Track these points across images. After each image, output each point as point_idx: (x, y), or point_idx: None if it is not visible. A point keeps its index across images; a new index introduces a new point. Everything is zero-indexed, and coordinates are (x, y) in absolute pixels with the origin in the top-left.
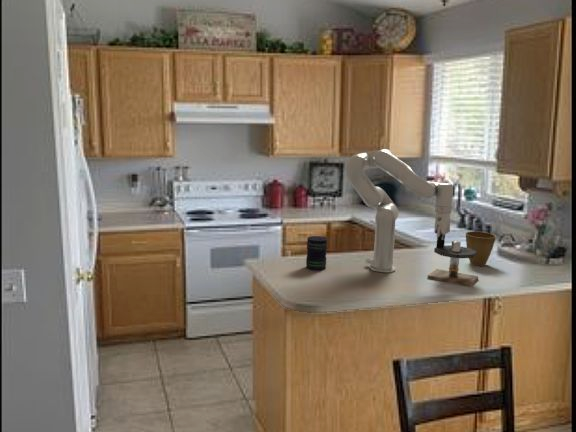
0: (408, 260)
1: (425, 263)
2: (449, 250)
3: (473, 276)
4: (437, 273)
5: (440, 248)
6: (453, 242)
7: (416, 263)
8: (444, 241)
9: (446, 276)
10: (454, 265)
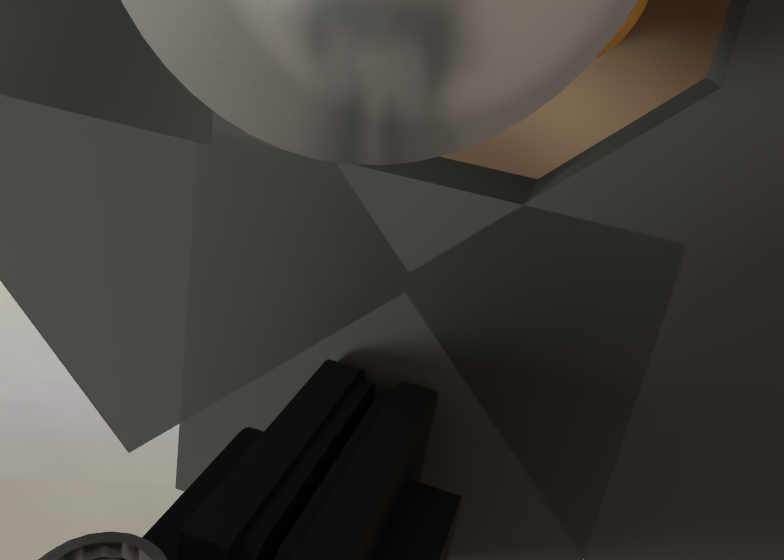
0: (17, 545)
1: (13, 382)
2: (681, 154)
3: None
4: None
5: (494, 459)
6: (620, 26)
7: (73, 474)
8: (236, 476)
9: (660, 85)
10: None
